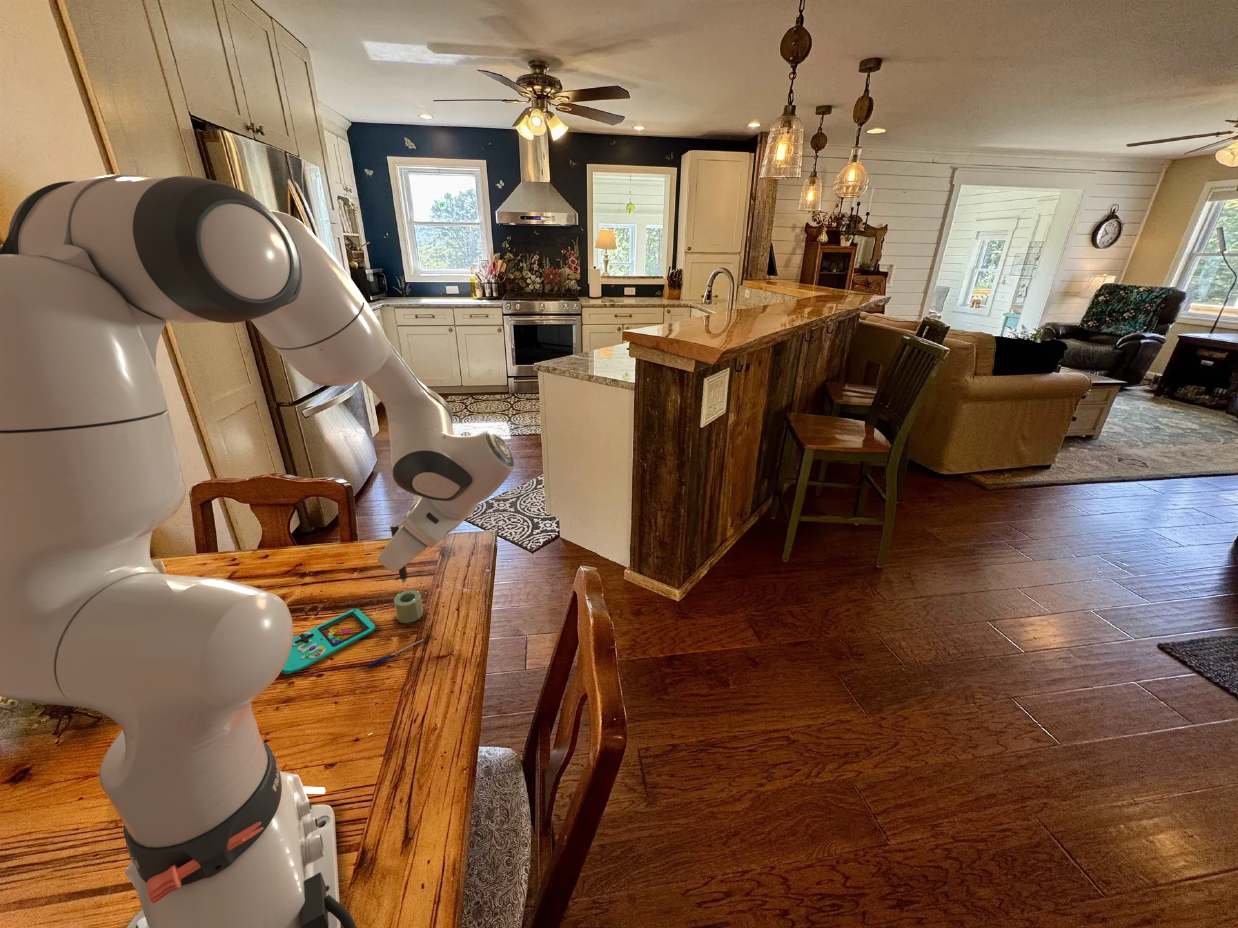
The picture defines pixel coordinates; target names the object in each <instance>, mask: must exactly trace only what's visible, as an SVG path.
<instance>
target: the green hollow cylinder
mask: <svg viewBox="0 0 1238 928" xmlns="http://www.w3.org/2000/svg"><path fill="white" fill-rule="evenodd" d="M393 605H394V611H395V616H396V619H397V620H398V622H400V623H402V624H411V623H414V622H416V621H418V620H420V619H421V617H422V616H423V615H424V605H423V600H422V595H421V593H420V592H419V591H418V590H416V589H415V590H414V589H409V590H408V589H407V590H404V591H402V592H399V593H398V594H397V595H396V596H395V597H394V599H393Z"/></svg>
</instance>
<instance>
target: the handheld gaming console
mask: <svg viewBox="0 0 1238 928" xmlns="http://www.w3.org/2000/svg"><path fill="white" fill-rule="evenodd" d="M350 616H352V617H353V618H354V619H355V621H357V623H359V624H360V625H361V626H362V627H363V629H361V630H360V631H357V632H356V633H354V634H352V635H350V636H348V637H346V638H344V639H343V640H342V638H343V636H342V635H339V636H338V637H336V636H335V634H336V632H337V631H338V630H337V629H335V628H336V627H334V626H333V625H334V624H337V623H339V622H340V621H342V620H344V619H346V618H349V617H350ZM330 626H332V627H331V628H329V627H330ZM326 628H329V629H328V631H326V630H324V629H326ZM375 630H376V625H375V623H373V621H372V620H371V619H370V618H369V617H367V616H366V615H365V614H364V613H363V611H362V610H360V609H358V608H353V609H350V610H348V611H346V612H344V613H342V614H340V615H338V616H336V617H335V616H334V618H330V620H327V621H325V622H323V623H321V624H318V625H317V626H315V627H312V628H310V629H309V630H306V631H304V632H301V633H300V634H298V635H295V636H293V643H292V647H291V651H290V654H289V657H288V659H287V661H286V663H285V665H284V667H283V669H282V671H281V672H280V673H282V674H284V675H285V674H286V675H291V674H292V673H295V672H299V671H301V670H303V669H305V668H307V667H309V666H311V665H313V664H315V663H316V662H319V661H320V660H322V659H324V658H325V657H327V656H330V655H332V654H333V653H335V652H337V651H339V650H341V649H343V648H345V647H347V646H349V645H350V644H352V643H355V642H357V641H358V640H360V639H362V638H364V637H366V636H368V635H370V634H372V633H373V632H374V631H375ZM341 631H342V633H343V634H345V635H346V634H348V633H350V632H351V630H350V629H348V630H346V629H345V628H343V629H341Z"/></svg>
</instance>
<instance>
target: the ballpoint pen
mask: <svg viewBox="0 0 1238 928" xmlns="http://www.w3.org/2000/svg"><path fill="white" fill-rule="evenodd" d="M423 641H425V638H423V639H421V640H418V641H416V642H415V643H412V644H410V645H408V646H406V647H404V648H402V649H400V650H398V651H396V652H394V653H392V654H389V655H387V656H385V655H384V656H382V657H381V658H379V659H376V660H374V661H372V662H370V663H369V664H368V665H367V667H372V666H374V665H376V664H378V663H380V662H382V661H384V660H386V659H389V658H391V657H392V656H394V655H396V654H398V653H400V652H402V651H404V650H407V649H409V648H410V647H412V646H414V645H417V644H418V643H421V642H423Z"/></svg>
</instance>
